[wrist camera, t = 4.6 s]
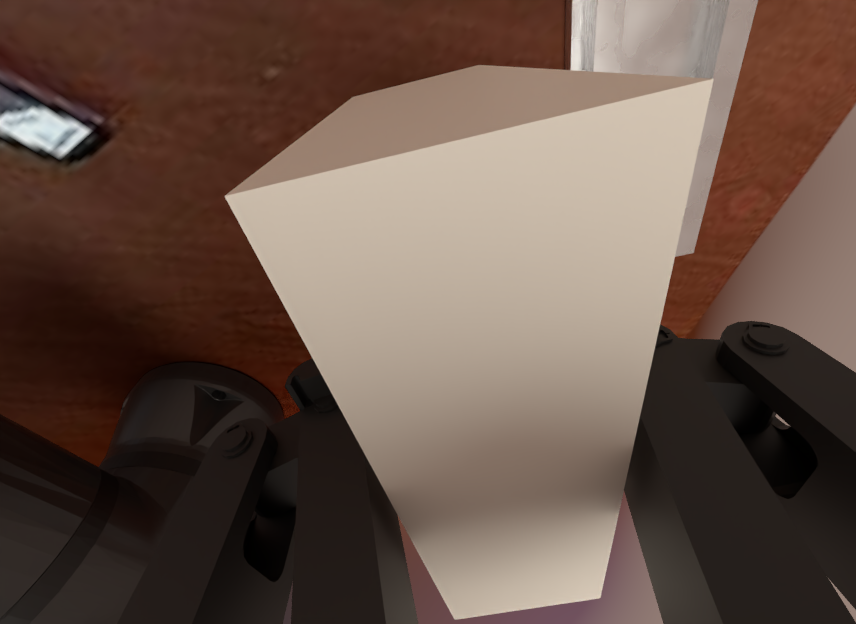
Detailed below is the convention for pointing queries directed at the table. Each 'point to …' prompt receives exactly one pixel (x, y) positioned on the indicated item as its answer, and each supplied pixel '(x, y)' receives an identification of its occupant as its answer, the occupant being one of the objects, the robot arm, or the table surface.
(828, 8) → the table surface
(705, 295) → the table surface
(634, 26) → the bottom track
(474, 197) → the door panel
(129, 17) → the table surface
